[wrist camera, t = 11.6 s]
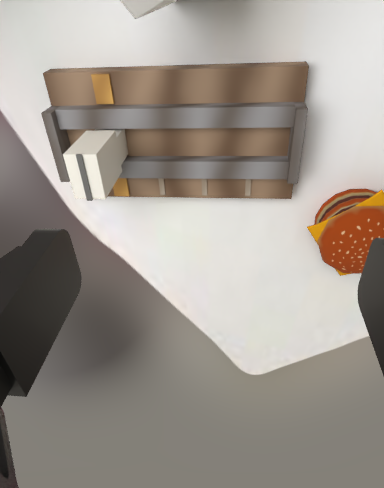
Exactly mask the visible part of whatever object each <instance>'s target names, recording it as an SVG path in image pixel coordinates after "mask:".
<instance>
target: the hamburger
mask: <svg viewBox="0 0 384 488" xmlns="http://www.w3.org/2000/svg"><path fill="white" fill-rule="evenodd" d="M307 228H308V230H309V231H310V233H311V234H312V236H313V237H314V239H315V241H316V242H317V244H318V245H319V249H320V253H321V256H322V260H323V261H324V262H325V263H327V264H328V265H330V266H332V267H333V268H335V269H336V271H337V272H338V273H339V275H340V276H341V275H346V274H351V273H362V272H363V268H364V265H365V262H366V258H367V255H368V252H369V249H370V245H371V243H372V241H373V240H374V239H375V238H384V192H383V191H382V190H380V191H379V192H378V193H377V192H374V191H371V190H368V189H349V190H347V191H344V192H341V193H338V194H335V195H334V196H333V197H332V198H330V199H329V200H328V201H326V202H325V203H324V204H323V205H322V206H321V208H320V210H319V211H318V213H317V214H316V217H315V225H312V226H309V227H307Z"/></svg>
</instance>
